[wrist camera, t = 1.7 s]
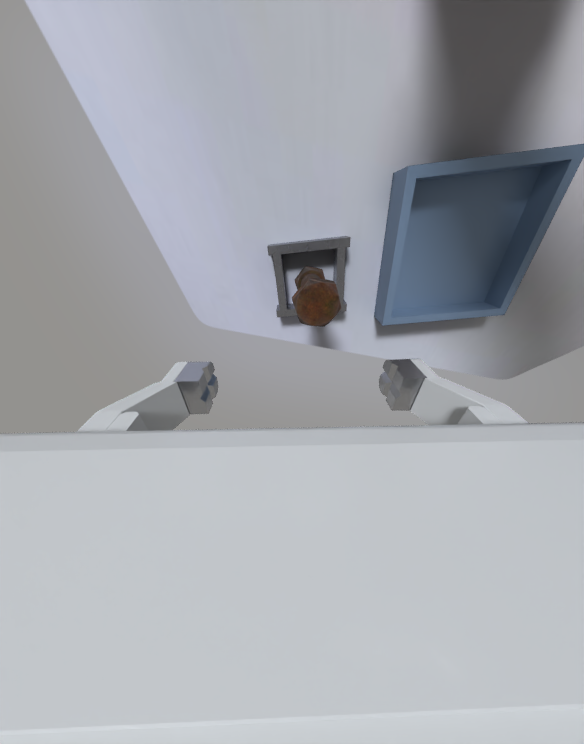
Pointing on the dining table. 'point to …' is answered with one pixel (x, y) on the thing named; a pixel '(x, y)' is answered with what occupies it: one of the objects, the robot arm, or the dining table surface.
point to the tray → (467, 232)
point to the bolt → (315, 298)
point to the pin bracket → (304, 246)
